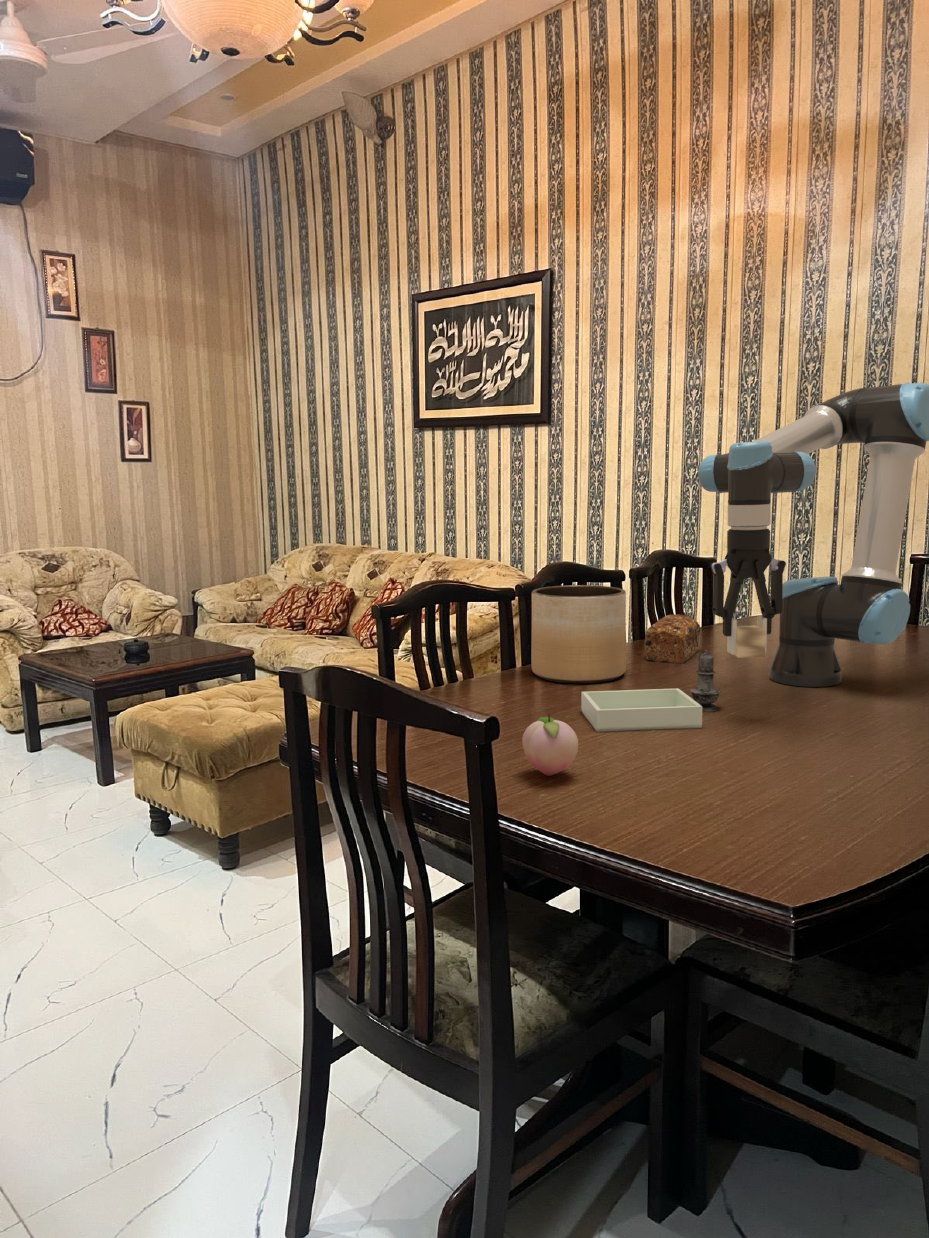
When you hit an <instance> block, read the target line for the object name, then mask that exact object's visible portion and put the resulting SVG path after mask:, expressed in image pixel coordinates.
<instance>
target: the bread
mask: <svg viewBox="0 0 929 1238" xmlns="http://www.w3.org/2000/svg"><path fill="white" fill-rule="evenodd" d="M700 639H701V625H700V623H699V622H698V621H697V620H696V619H694V618H693V617H690V616H687V615H685V614H681V613H679V614H668V615H665V616H663V617H662V618H660V619H659V620H658V621H656V622H655V623H653V624H652V625H650V627H648V628H647V629H646V631H645V639H644V640H645V643H644V644H645V654H646V659H647V661H653V662H656V663H660V662H668V663H672V664H674V663H675V664H676V663H677V664H685V663H686V662H687V661H688V660H690V659H691V658H692V657H693V656H694V655H695V654H696V653H697V652H698V650H699V647H700Z"/></svg>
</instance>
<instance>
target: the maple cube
mask: <svg viewBox="0 0 929 1238" xmlns="http://www.w3.org/2000/svg"><path fill="white" fill-rule="evenodd" d="M765 631H766V630H764V629H762V628H760V627H757V624H755V625H737V631H736V654H735V655H733V656H734V657H735V658H739V659H741V658H765V657H766V653H765Z"/></svg>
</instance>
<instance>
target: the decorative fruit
mask: <svg viewBox="0 0 929 1238" xmlns="http://www.w3.org/2000/svg"><path fill="white" fill-rule="evenodd" d="M521 742H522V748H523V751H524V753H525V756H526V757H527V759H528V761H529V762H530V764H531V765H532V766H533V767H534V768H536V769H537V770H538V771H539V772H540V773H542V774H544V775H545V776H547V777H550V776H553V775H557V774H558V773H561V772H562V771H564V770H566V769H567V768H568V767H569V766H570V765H571V764H572V763H573V762H574V760H575V758H576V757H577V753H578V750H579V739H578V736H577V734H576V732H575V730H573V728H572V727H571V726H570V725H569V724H568V723H566V722H564V721H561V720H558V719H554V718H553V717H551V713H548V714H547V716H545V717H544V716H541V717H539V718H537V721H534V722H532V723H531V724H530V725H528V726H527V728H526V729H525V731H524V732H523V735H522V739H521Z"/></svg>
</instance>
